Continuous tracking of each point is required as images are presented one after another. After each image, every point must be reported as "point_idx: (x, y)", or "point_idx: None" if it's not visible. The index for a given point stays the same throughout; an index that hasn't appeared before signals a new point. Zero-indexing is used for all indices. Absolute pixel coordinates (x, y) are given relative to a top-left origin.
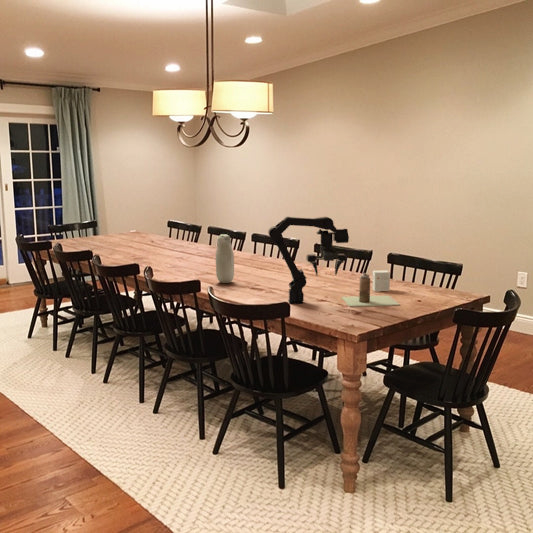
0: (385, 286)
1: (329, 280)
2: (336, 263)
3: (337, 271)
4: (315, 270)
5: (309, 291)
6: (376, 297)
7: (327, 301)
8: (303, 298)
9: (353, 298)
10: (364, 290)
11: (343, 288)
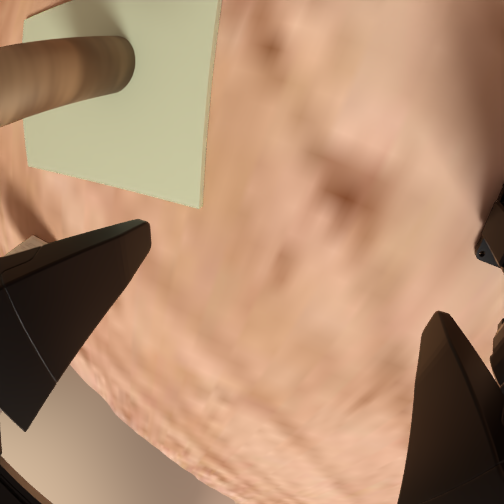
0: (27, 249)
1: (190, 424)
2: (11, 351)
3: (87, 233)
4: (493, 380)
5: (315, 382)
6: (58, 143)
7: (324, 155)
8: (501, 209)
9: (145, 148)
10: (60, 38)
11: (160, 348)
